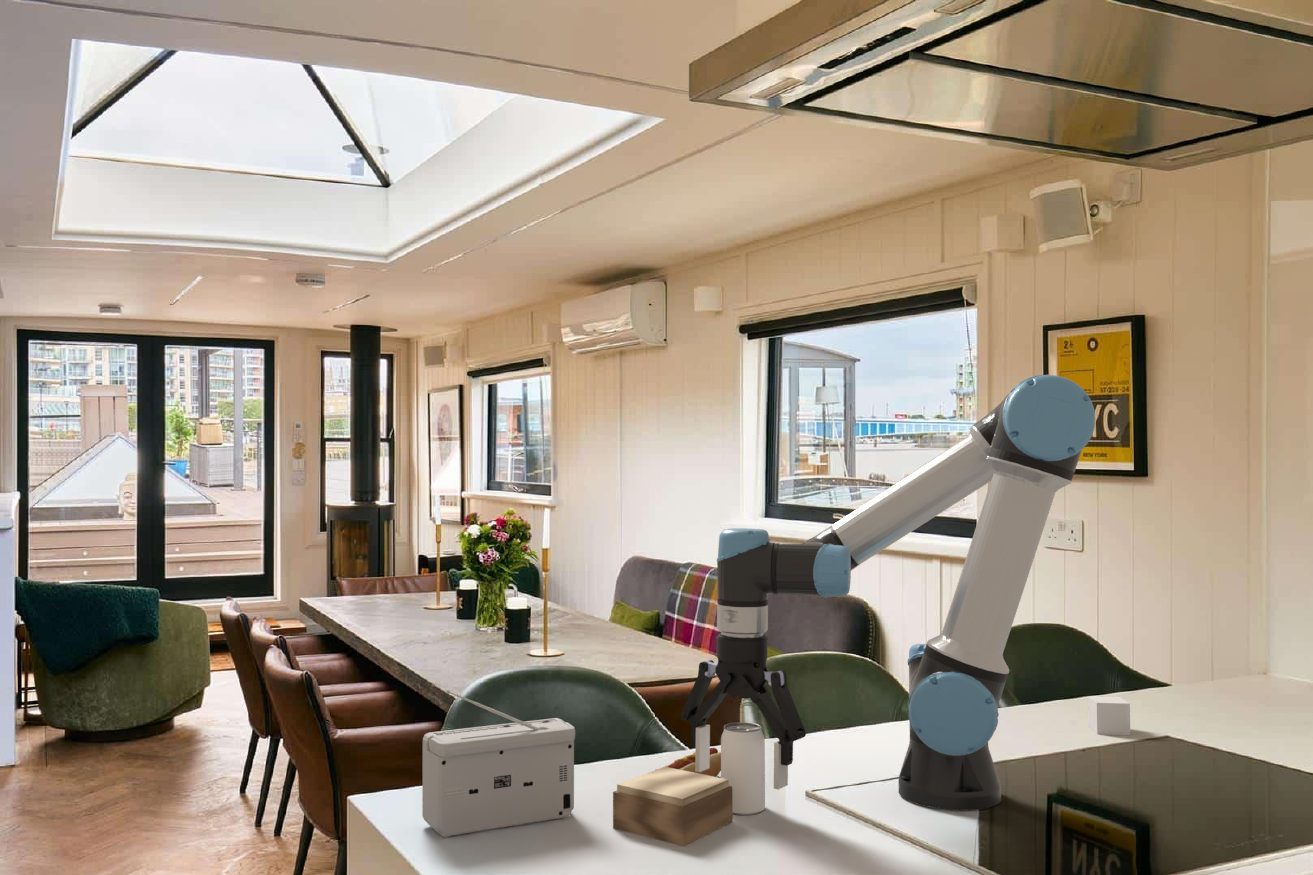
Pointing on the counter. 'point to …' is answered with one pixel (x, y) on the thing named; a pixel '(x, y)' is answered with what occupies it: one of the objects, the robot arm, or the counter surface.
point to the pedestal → (672, 805)
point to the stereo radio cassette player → (497, 774)
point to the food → (689, 763)
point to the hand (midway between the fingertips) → (740, 778)
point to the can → (744, 766)
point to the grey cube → (1109, 715)
